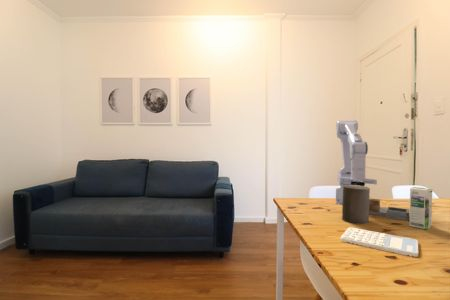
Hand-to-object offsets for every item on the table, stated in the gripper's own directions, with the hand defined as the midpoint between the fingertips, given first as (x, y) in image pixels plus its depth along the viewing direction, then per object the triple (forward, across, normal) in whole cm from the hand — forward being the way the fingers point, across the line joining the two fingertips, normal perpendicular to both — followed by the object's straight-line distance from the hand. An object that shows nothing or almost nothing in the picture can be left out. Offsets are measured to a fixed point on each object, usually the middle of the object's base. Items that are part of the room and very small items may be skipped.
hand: (357, 198), depth 115 cm
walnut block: (+4, +6, 0) cm, 8 cm away
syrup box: (+6, +22, -8) cm, 25 cm away
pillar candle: (+6, +2, -14) cm, 15 cm away
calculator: (+7, +12, -35) cm, 37 cm away
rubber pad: (+6, +10, +13) cm, 17 cm away
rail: (+6, +10, 0) cm, 11 cm away
